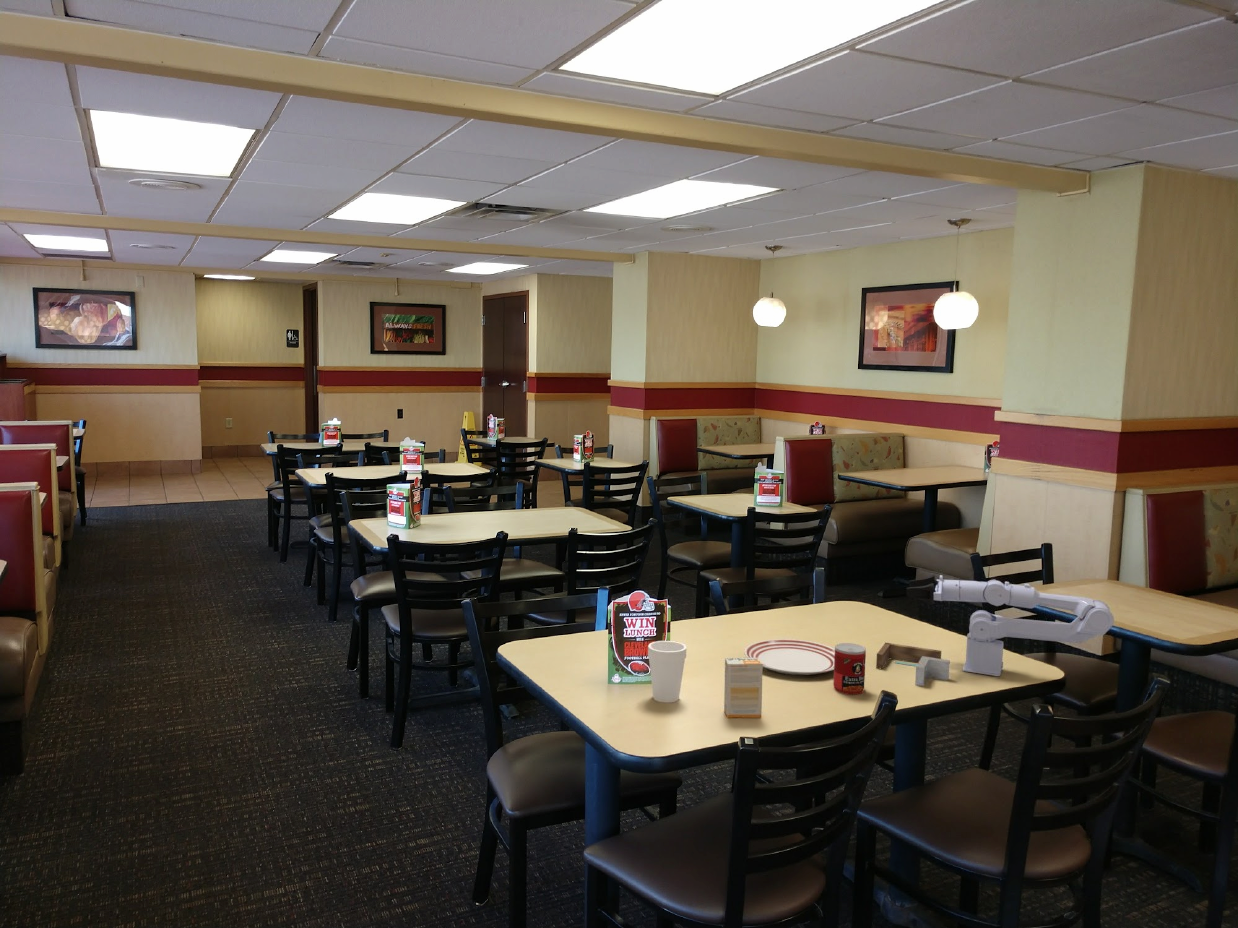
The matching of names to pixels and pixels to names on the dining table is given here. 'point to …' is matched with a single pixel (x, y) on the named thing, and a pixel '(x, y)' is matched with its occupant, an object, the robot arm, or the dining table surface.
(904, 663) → the pose mark
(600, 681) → the dining table surface
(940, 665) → the bracket
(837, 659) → the canned food
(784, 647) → the dinner plate
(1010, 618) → the robot arm
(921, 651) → the brown wooden l-shape
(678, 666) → the foam cup
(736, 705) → the supplement box
